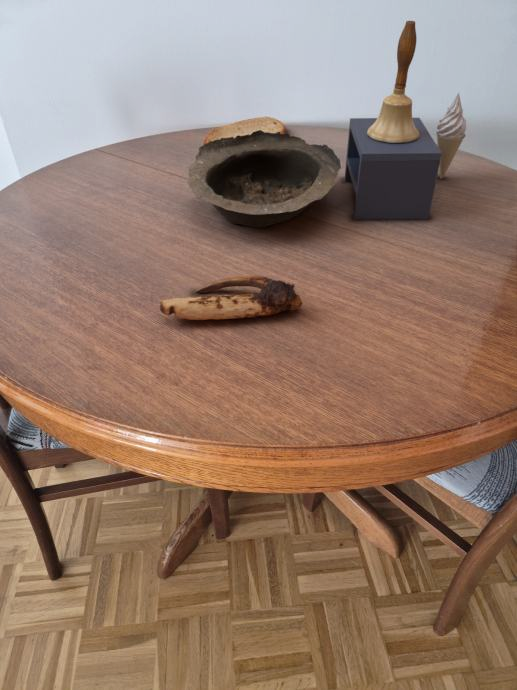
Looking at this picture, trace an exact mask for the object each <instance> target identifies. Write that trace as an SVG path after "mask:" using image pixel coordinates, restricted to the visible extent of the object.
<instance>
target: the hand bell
mask: <svg viewBox="0 0 517 690" xmlns="http://www.w3.org/2000/svg"><path fill="white" fill-rule="evenodd" d="M416 48H417V30H416V21H415V20H406V21H405V24H404V27H403V30H402V31H401V33H400V36H399V39H398V42H397V50H396V60H397V61H396V63H397V72H396V78H395V83H394V87H393V91H392V93H391V94H390V95H388V96H386V97H384V98H383V100H382V104H381V108H380V111H379V114H378V116H377V117H376V118H377V120H376V121H375V123H374V124H373V125H372V126H370V127H369V129H368V131H367V134H368V136H370V137H371V138H372V139H375V140H378V141H382V142H387V143H407V142H411V141H414V140H416V139H417V138H418V137H419V132H418V130H417V128H416V127H415V126H414V123H413V119H412V118H413V100H412V98H410V97H409V96H407V94H406V87H407V81H408V73H409V68H410V66H411V64H412V62H413V59H414V56H415V53H416Z"/></svg>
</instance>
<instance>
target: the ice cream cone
mask: <svg viewBox="0 0 517 690" xmlns="http://www.w3.org/2000/svg"><path fill="white" fill-rule="evenodd" d="M463 113H464V109H463V106H462V102H461V96H460V93H459V92H458V93H457V95H456V97H455V98H454V100H453V101H452V103H451V104H450V106H448V108H447V111H446V113H445V115H444V116H443V117H441V118H440V119H439V121H438V122H439V123H438V124H437V125H436V127H437V129H436V130H437V131H436V132H435V133H436V134H435V135H436V142H437V143H436V144H437V147H438V148H439V150H440V151H441V153H442V154H441V158H440V164H439V169H438V170H439V178H440V179H444V177H445V174H446V173H447V171H448V169H449V168H450V165H451V164H452V162H453V160H454V158H455V156H456V154H457V152H458V150H459V149H460V147H461V145H462V143H463V140H464V139H465V138H466V136H467V135H466V130H467V120H466V119H465V117H464V115H463Z"/></svg>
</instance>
